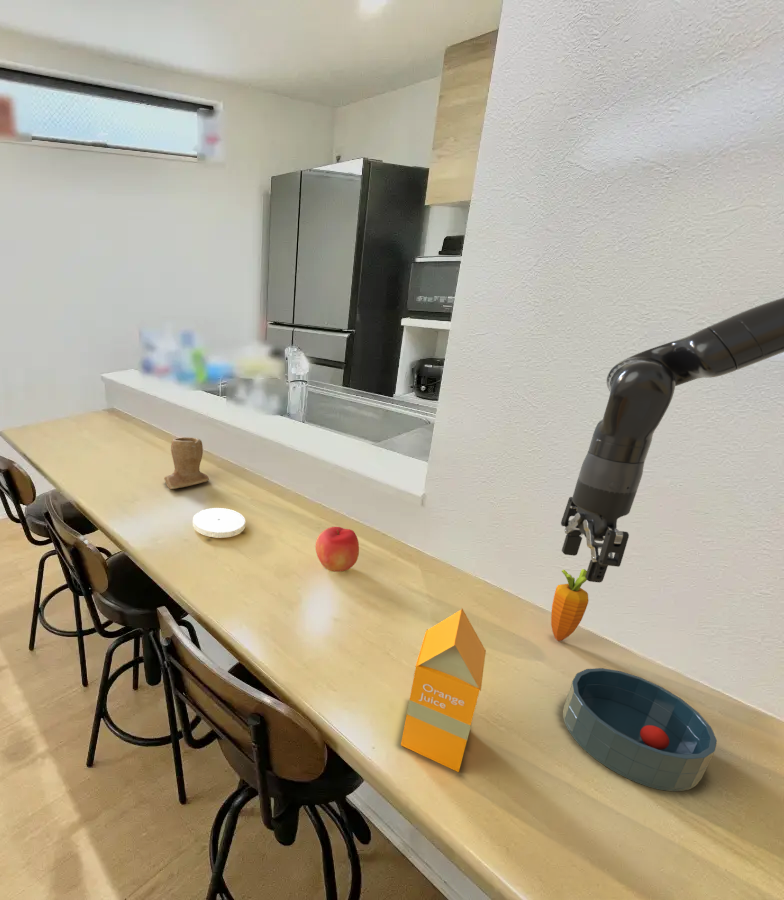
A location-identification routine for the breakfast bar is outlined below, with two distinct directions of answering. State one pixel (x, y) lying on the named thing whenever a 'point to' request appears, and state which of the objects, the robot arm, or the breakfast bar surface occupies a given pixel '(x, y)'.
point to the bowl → (638, 729)
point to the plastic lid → (218, 522)
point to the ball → (654, 737)
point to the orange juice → (445, 691)
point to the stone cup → (186, 463)
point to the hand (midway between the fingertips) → (580, 566)
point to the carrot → (568, 606)
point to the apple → (337, 548)
